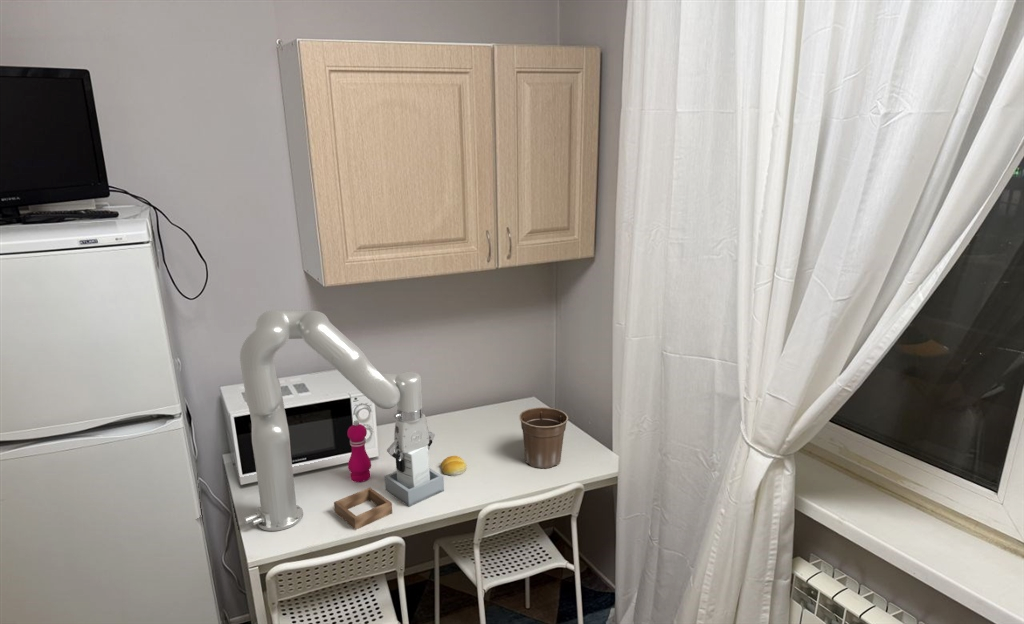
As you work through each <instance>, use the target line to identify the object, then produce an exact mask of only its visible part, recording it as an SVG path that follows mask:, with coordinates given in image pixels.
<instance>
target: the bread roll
mask: <svg viewBox="0 0 1024 624" xmlns="http://www.w3.org/2000/svg"><path fill="white" fill-rule="evenodd" d="M440 464H441V465H440V468H441V471H442V473H443V474H444V475H447V476H451V475H452V476H459V475H462V474H463V473H465V472H466V471H467V467H468V466H467V463H466V462H465V460H464V459H463V458H462V457H461V456H458V455H450V456H447V457H446V458H445V459H443V460H442V461H441V463H440Z"/></svg>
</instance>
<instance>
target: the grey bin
mask: <svg viewBox="0 0 1024 624" xmlns="http://www.w3.org/2000/svg"><path fill="white" fill-rule="evenodd" d="M429 473H430V480H429V481H427V482H425V483H423V484H420V485H418V486H416V487H413V488H411V489H408V488H406V487H405V486H403V485H402V484H400V483H399V482H397V470H396V471H393V472H391V473H389V474H386V475H384V488H385V491H386V492H387V493H389V494H390V495H391V496H393V497H394V498H396V500H398V501H400V502H401V503H403V504H404V505H406V506H407V507H409V508H411V507H412V506H414V505H417V504H418V503H421V502H422V501H425V500H427V499H429V498H432V497H434V496H436V495H438V494H440V493H442V492H444V491H445V480H444V479H445V478H444V475H442V474H440V473H439V472H437V471H436V470H433V469H432V468H430V467H429Z"/></svg>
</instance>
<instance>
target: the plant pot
mask: <svg viewBox="0 0 1024 624" xmlns="http://www.w3.org/2000/svg"><path fill="white" fill-rule="evenodd" d="M518 418H519V421H520V426H521V430H522V437H523V438H522V439H523V449H524V451H523V452H524V460H525V462H526V464H529V466H531V467H533V468H537V469H550V468H552V467H554V466H555V467H556V466H558V465H559V464H560V463H561V461H562V452H563V443H564V436H565V431H566V429H567V422H568V420H569V416H568V415H567V413H566V412H564V411H563V410H560V409H559V408H558V409H557V408H552V407H544V406H543V407H540V406H539V407H531V408H528V409H526V410H523V411H522V412H521V413H520V414H519V416H518Z"/></svg>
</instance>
